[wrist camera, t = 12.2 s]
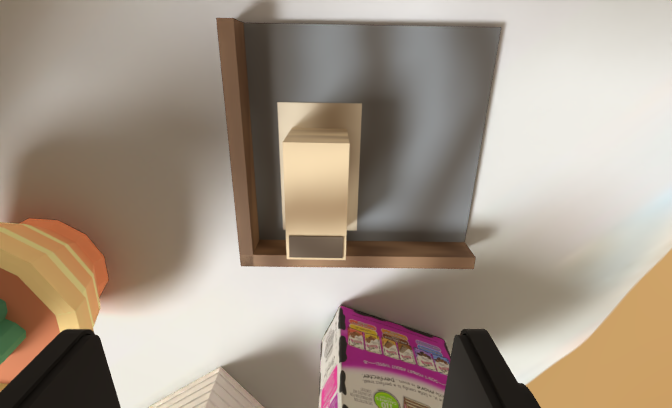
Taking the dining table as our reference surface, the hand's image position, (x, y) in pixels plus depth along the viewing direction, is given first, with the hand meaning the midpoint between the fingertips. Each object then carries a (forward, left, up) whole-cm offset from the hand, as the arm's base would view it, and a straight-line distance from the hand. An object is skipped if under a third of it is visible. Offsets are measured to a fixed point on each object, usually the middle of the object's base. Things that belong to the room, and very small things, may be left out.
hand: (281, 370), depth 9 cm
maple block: (0, -1, -19) cm, 19 cm away
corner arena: (+3, +2, -19) cm, 20 cm away
